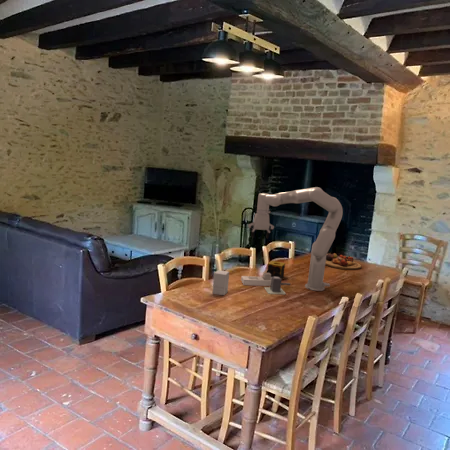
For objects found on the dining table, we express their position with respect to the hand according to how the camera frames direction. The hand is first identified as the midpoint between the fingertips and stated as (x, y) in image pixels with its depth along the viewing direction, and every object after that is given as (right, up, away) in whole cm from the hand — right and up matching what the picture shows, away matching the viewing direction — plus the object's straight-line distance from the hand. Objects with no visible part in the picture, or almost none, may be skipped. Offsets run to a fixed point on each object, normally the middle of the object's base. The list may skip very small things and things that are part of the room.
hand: (260, 238), depth 275 cm
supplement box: (-26, -32, -28) cm, 49 cm away
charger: (+8, -32, -17) cm, 37 cm away
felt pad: (+8, -32, -16) cm, 37 cm away
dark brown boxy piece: (+11, -28, +14) cm, 33 cm away
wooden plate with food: (+71, -24, +65) cm, 99 cm away
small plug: (+4, -28, -3) cm, 28 cm away
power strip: (+4, -30, -3) cm, 30 cm away
